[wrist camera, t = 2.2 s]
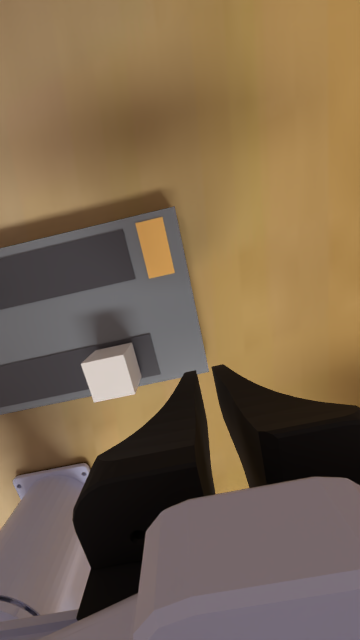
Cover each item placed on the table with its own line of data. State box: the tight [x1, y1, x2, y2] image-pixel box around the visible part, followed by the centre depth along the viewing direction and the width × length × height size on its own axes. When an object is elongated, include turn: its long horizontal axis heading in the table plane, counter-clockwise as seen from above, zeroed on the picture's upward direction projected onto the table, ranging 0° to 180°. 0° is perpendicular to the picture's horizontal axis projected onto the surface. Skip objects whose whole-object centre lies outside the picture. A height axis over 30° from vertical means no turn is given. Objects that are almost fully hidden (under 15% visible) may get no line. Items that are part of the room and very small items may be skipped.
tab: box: [81, 343, 142, 402], centre depth 16 cm, size 3×3×3 cm
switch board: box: [0, 206, 209, 415], centre depth 18 cm, size 13×24×2 cm, turn 103°
